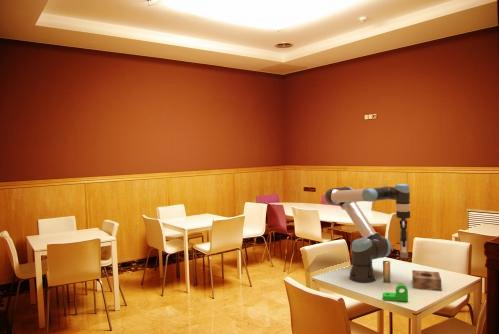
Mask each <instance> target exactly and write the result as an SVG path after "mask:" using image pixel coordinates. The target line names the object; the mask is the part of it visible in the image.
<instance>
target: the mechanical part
mask: <svg viewBox="0 0 499 334" xmlns="http://www.w3.org/2000/svg"><path fill="white" fill-rule="evenodd" d="M400 290H404V291H403V292H401V291H400ZM382 300H383V301H393V302H394V301H397V302H409V291H408V288H407V286H406V285H405V284H402V283H401V284H397V285H396V287H395V292H392V291H391V292H390V291H389V292H382Z"/></svg>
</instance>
